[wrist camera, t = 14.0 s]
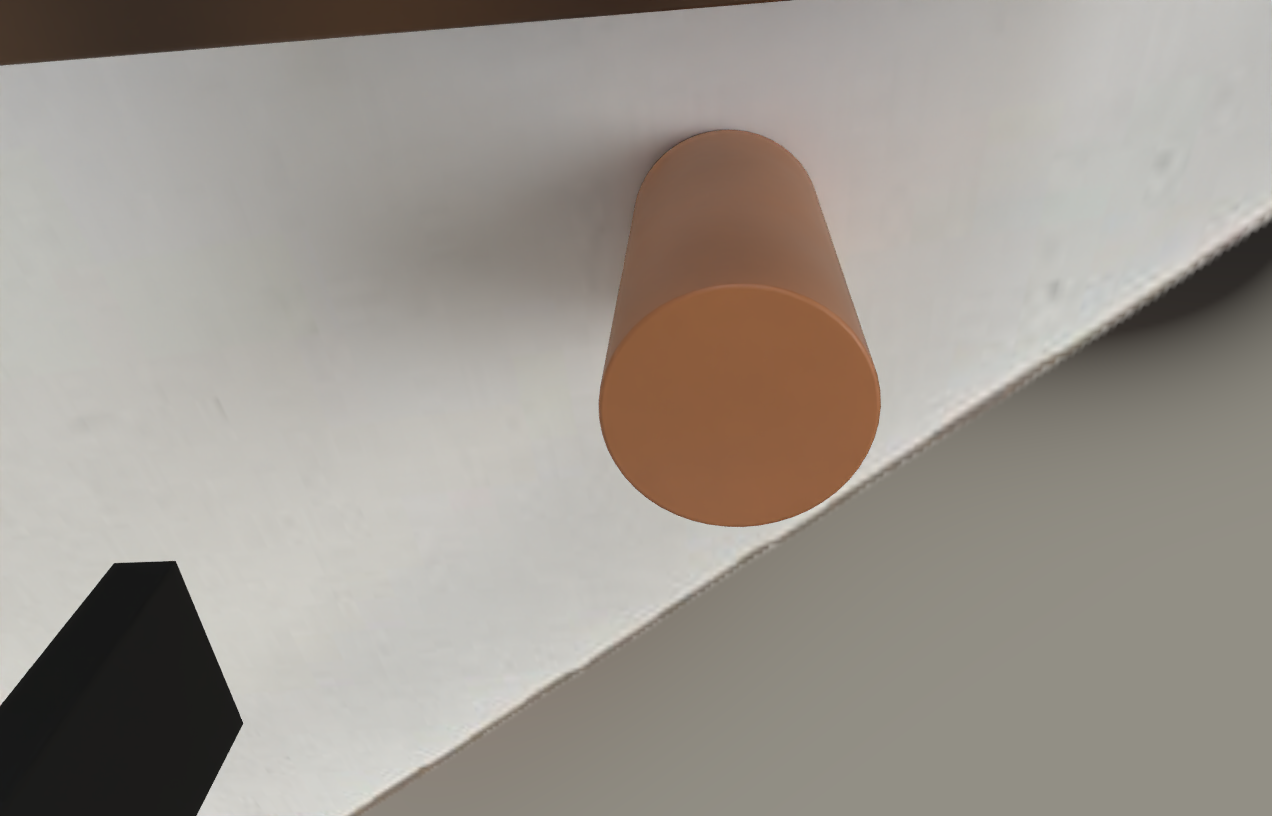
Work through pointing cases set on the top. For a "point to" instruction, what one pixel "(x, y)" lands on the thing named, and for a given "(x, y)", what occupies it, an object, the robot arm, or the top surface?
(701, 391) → the copper tin
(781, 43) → the top surface
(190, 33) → the desk shelf
